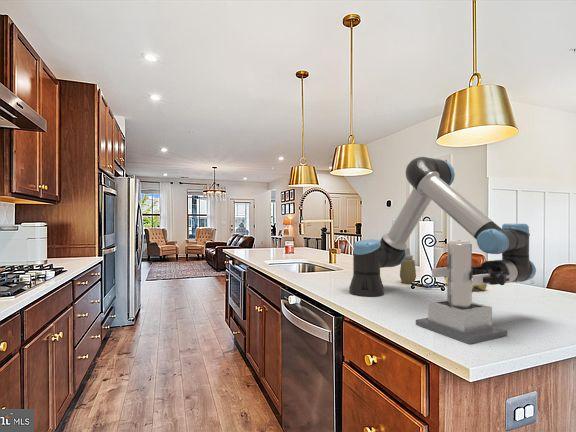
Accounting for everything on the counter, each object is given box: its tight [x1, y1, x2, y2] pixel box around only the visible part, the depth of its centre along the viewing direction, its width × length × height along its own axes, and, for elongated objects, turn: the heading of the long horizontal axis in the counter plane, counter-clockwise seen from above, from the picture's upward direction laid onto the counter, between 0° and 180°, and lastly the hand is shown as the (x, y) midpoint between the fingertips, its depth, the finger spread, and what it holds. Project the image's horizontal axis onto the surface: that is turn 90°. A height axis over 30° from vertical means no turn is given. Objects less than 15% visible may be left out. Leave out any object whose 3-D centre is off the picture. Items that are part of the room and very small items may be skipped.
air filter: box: [446, 239, 473, 310], centre depth 98 cm, size 6×6×25 cm
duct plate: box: [415, 298, 508, 345], centre depth 98 cm, size 18×16×8 cm
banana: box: [443, 276, 488, 292], centre depth 162 cm, size 20×7×10 cm
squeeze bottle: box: [399, 247, 417, 285], centre depth 171 cm, size 8×8×18 cm
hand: (451, 276), depth 97 cm, fingers open, 13 cm apart
